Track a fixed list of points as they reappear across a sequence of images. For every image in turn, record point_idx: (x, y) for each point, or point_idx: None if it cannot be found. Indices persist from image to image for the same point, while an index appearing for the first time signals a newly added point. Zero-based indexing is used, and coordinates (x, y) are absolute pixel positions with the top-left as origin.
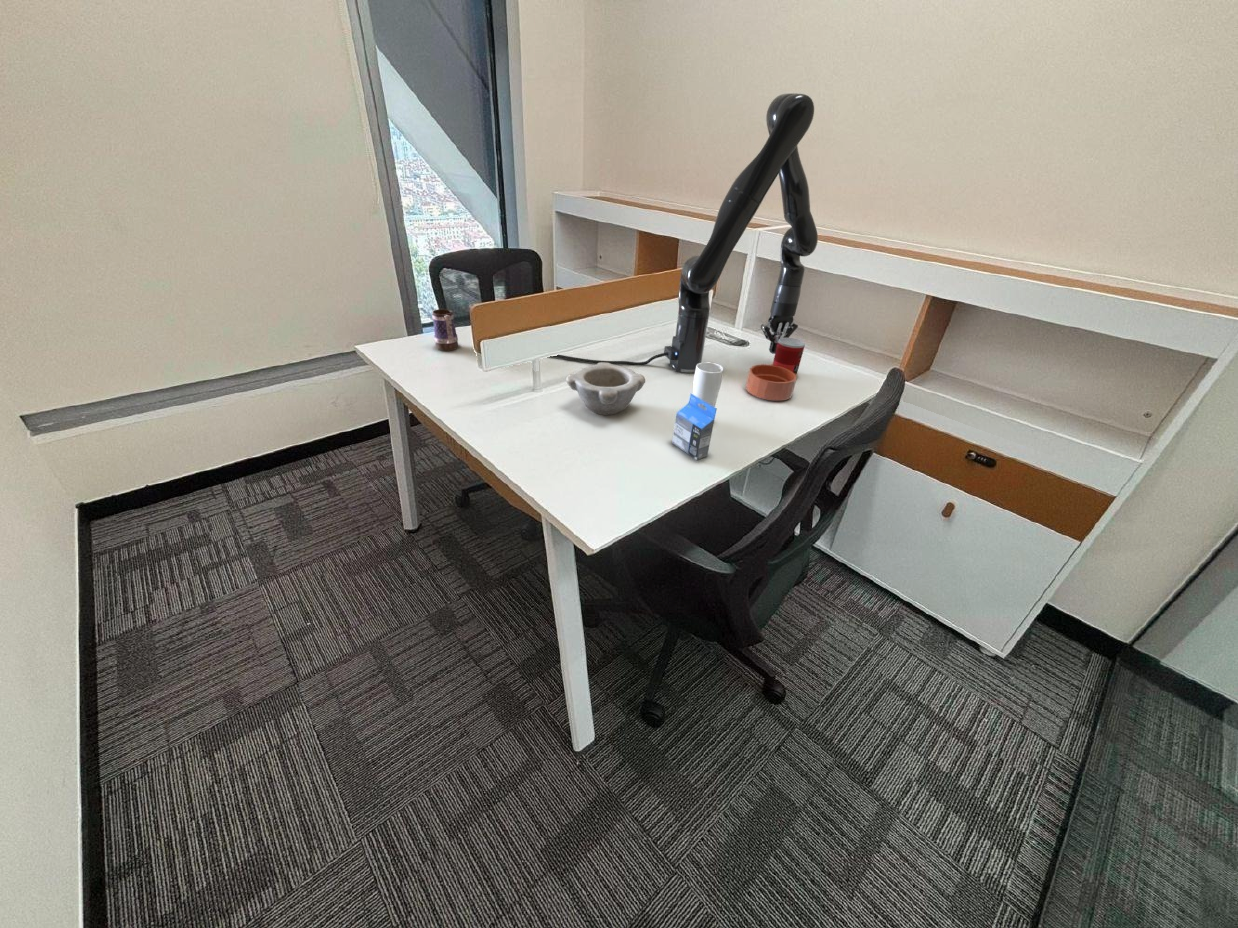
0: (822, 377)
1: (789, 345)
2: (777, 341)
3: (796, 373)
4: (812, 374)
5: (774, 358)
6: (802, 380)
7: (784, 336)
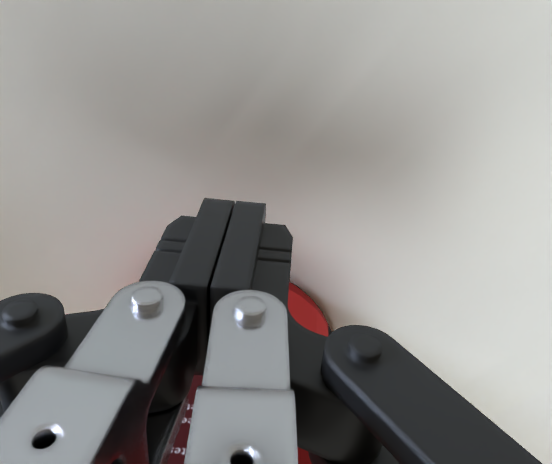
0: None
1: None
2: (183, 403)
3: None
4: (484, 389)
5: None
6: None
7: (333, 458)
